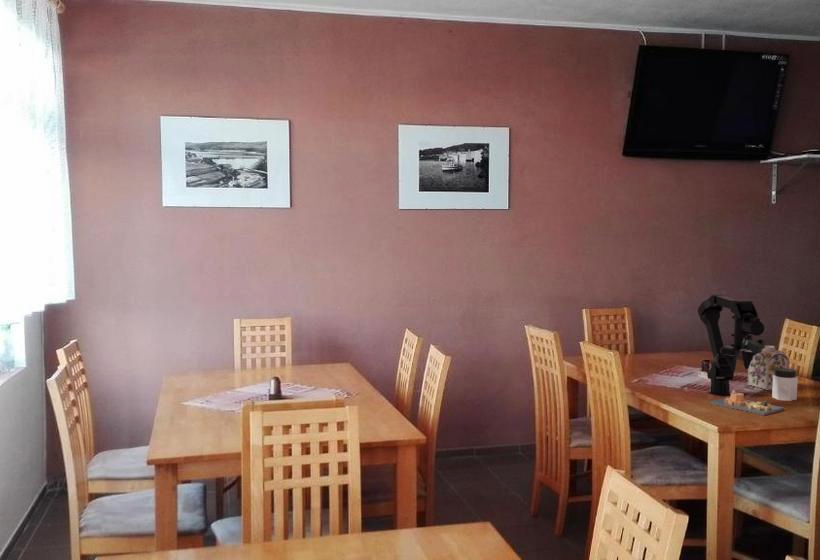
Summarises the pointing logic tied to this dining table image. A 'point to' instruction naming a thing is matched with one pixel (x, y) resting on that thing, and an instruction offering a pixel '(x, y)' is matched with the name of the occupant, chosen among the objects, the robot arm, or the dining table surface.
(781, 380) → the jar
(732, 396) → the loose gear
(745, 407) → the gear board
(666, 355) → the dining table surface
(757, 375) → the decorative jar
